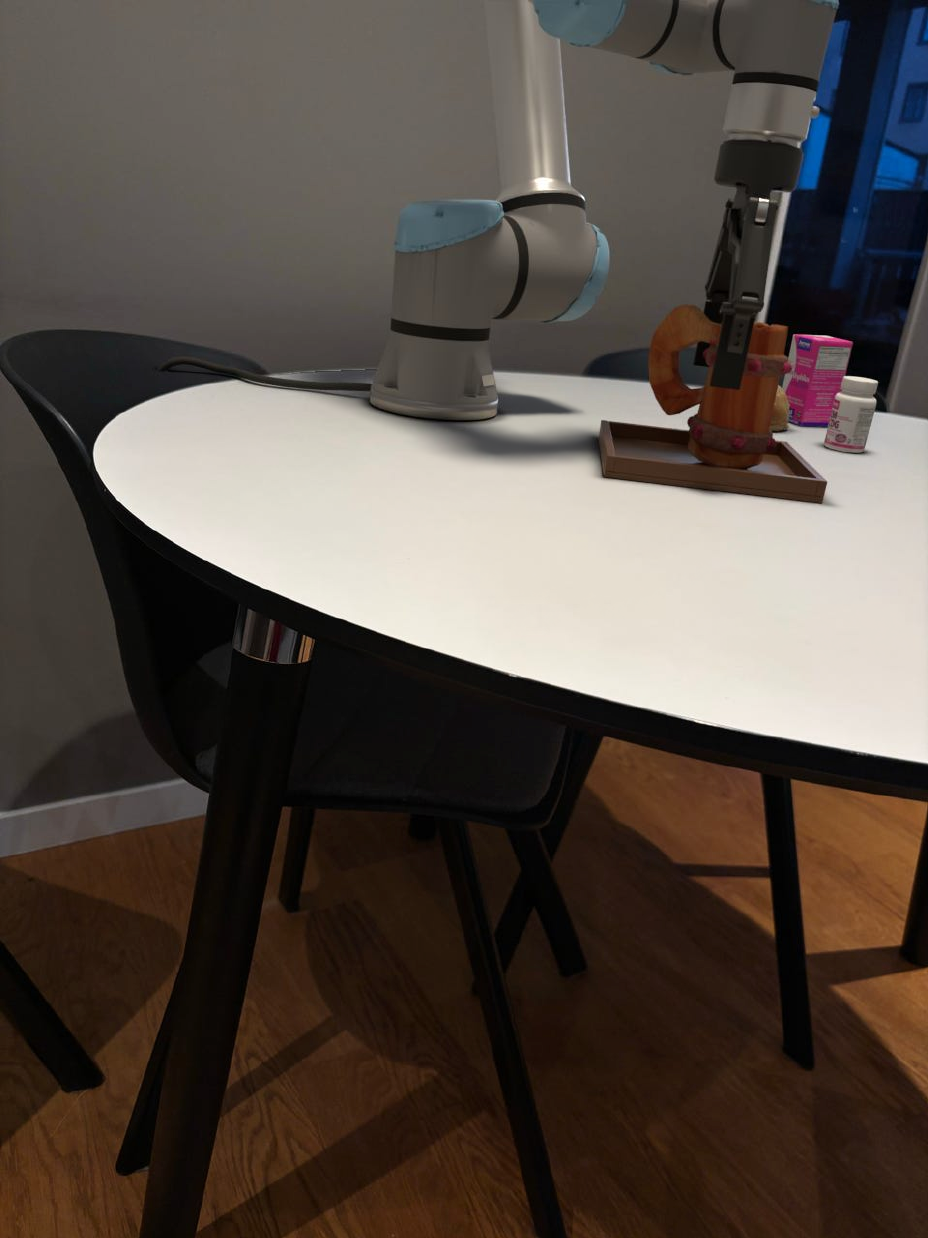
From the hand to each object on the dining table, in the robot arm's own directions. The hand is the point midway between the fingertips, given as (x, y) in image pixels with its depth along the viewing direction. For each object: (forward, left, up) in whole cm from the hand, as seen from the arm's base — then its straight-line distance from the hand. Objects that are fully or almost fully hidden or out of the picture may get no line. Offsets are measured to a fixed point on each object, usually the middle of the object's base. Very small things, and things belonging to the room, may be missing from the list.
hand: (714, 376), depth 98 cm
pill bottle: (+20, +21, -9) cm, 30 cm away
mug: (0, +1, -9) cm, 9 cm away
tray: (0, 0, -9) cm, 9 cm away
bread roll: (+10, +31, -9) cm, 34 cm away
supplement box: (+19, +38, -9) cm, 43 cm away
